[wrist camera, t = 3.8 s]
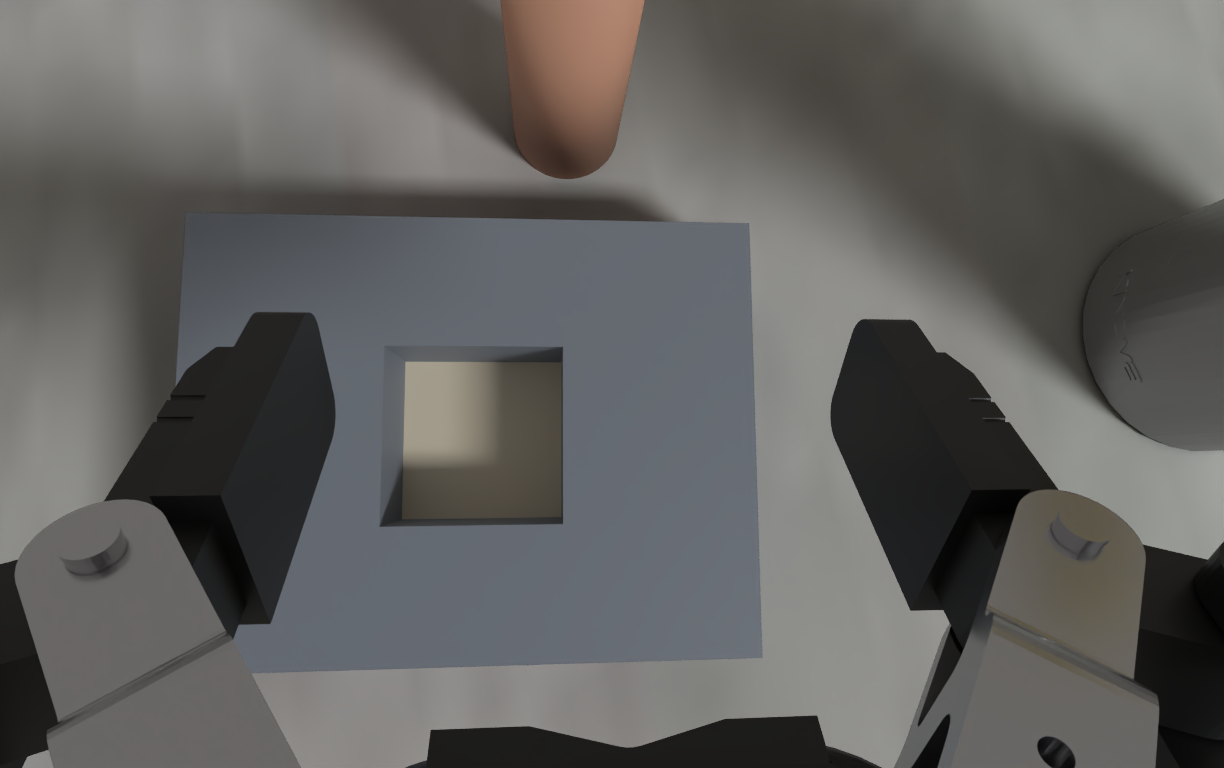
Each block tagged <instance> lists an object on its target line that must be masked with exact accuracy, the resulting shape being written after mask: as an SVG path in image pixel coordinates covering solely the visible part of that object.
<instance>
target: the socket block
mask: <svg viewBox="0 0 1224 768" xmlns="http://www.w3.org/2000/svg"><path fill="white" fill-rule="evenodd" d="M255 312H309V313H312V314H313V315H314V316H315V318H316V321H317V323H318V327H319V331H320V335H321V340H322V344H323V349H324V353H325V358H326V362H327V366H328V371H329V375H330V380H331V384H332V389H333V393H334V398H335V409H336V418H335V429H334V434H333V438H332V442H331V445H330V448H329V451H328V454H327V457H326V460H325V463H324V466H323V469H322V472H321V475H320V478H319V481H318V484H317V487H316V490H315V493H314V496H313V499H312V502H311V505H310V508H309V511H308V514H307V517H306V520H305V523H304V526H303V529H302V532H301V535H300V538H299V541H298V544H297V547H296V550H295V553H294V556H293V559H292V562H291V565H290V568H289V571H288V574H287V577H286V580H285V583H284V586H283V589H282V592H281V595H280V598H279V601H278V604H277V607H276V610H275V613H274V616H273V619H272V622H271V624H252V625H238V628H237V631H236V634H235V636H234V639H233V641H234V643H235V644H236V646H237V648H238V650H239V652H240V654H241V656H242V657H243V659H244V661H245V663H246V665H247V667H248V669H249V671H250V673H276V672H309V671H342V670H375V669H409V668H442V667H475V666H508V665H541V664H575V663H608V662H641V661H674V660H708V659H741V658H762V632H761V599H760V566H759V532H758V499H757V466H756V433H755V400H754V367H753V333H752V300H751V267H750V234H749V223H704V222H654V221H604V220H553V219H503V218H453V217H402V216H352V215H302V214H252V213H201V212H186V214H185V231H184V248H183V265H182V282H181V299H180V316H179V333H178V350H177V367H176V384H175V387H176V385H177V384H178V382H179V381H180V379H181V377H182V376H183V374H184V373H185V371H186V369H187V368H189V367H190V366H191V365H193V364H194V363H195V362H197V361H198V360H199V359H201V358H202V357H203V356H205V355H206V354H207V353H209V352H210V351H211V350H213V349H214V348H215V347H234V345H235V343H236V342H237V340H238V338H239V336H240V335H241V333H242V331H243V329H244V328H245V326H246V324H247V322H248V321H249V319H250V317H251V316H252V315H253V314H254V313H255Z"/></svg>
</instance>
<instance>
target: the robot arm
mask: <svg viewBox="0 0 1224 768" xmlns="http://www.w3.org/2000/svg"><path fill="white" fill-rule="evenodd" d="M1083 339H1084V344H1085V350H1086V355H1087V360H1088V363H1089V365H1090V368H1091V370H1092V373H1093V375H1094V378H1095V380H1096V383H1097V384H1098V386H1099V388H1100V389H1101V391H1102V392H1103V394H1104V395H1105V397H1106V399H1107V400H1108V402H1109V403H1110V405H1111V406H1112V407H1113V408H1114V409H1115V410H1116V411H1117V412H1118V413H1119V414H1120V415H1121V416H1122V417H1123V418H1124V419H1125V420H1126V422H1128V423H1129V424H1130V425H1132V426H1133V427H1135V428H1136V429H1137V430H1139V431H1140V432H1142V433H1143V434H1144V435H1146V436H1147V437H1150V438H1152V439H1154V440H1156V441H1159V442H1161V443H1163V444H1165V445H1168V446H1171V447H1176V448H1180V449H1185V450H1190V451H1215V450H1224V199H1223V200H1220V201H1218V202H1216V203H1213V204H1211V205H1208V206H1206V207H1203V208H1201V209H1198V210H1196V211H1193V212H1191V213H1188V214H1186V215H1183V216H1181V217H1178V218H1176V219H1173V220H1171V221H1169V222H1166V223H1164V224H1161V225H1159V226H1156V227H1154V228H1151V229H1149V230H1147V231H1144V232H1142V233H1140V234H1138V235H1135V236H1133V237H1131V238H1129V239H1128V240H1126V241H1125V242H1124V243H1123V244H1121V245H1120V246H1119V247H1117V248H1116V249H1115V250H1114V251H1112V252H1111V254H1110V255H1109V256H1108V257H1107V259H1106V260H1105V261H1104V262H1103V264H1102V265H1101V266H1100V267H1099V269H1098V271H1097V273H1096V275H1095V277H1094V279H1093V281H1092V283H1091V285H1090V287H1089V290H1088V294H1087V298H1086V302H1085V307H1084V311H1083ZM170 396H171V400H167V401H166V403H165V404H164V406H163V408H162V409H161V411H160V412H159V414H158V416H157V422H153V424H152V425H151V427H150V428H149V430H148V432H147V433H146V435H145V436H144V438H143V440H142V441H141V443H140V444H139V446H138V448H137V449H136V451H135V452H134V454H133V456H132V457H131V459H130V460H129V462H128V464H127V465H126V467H125V468H124V470H123V472H122V473H121V475H120V476H119V478H118V480H117V481H116V483H115V484H114V486H113V488H112V489H111V491H110V492H109V494H108V496H107V497H106V499H105V500H104V502H100V503H96V504H92V505H89V506H86V507H83V508H80V509H78V510H75V511H73V512H71V513H69V514H67V515H65V516H63V517H61V518H60V519H58V520H56V521H54V522H53V523H51V524H50V525H49V526H47V527H46V528H45V529H43V530H42V531H41V532H40V533H39V534H37V535H36V536H35V537H34V538H33V539H32V540H31V541H30V543H29V544H28V545H27V546H26V547H25V549H24V550H23V552H22V554H21V555H20V557H19V559H18V560H15V561H11V562H8V563H4V564H0V768H22V767H23V765H24V762H25V760H26V758H27V756H30V755H33V754H37V753H40V752H43V751H46V750H49V752H50V756H51V760H52V763H53V767H54V768H301V767H300V765H299V763H298V761H297V759H296V757H295V755H294V753H293V752H292V750H291V748H290V746H289V744H288V742H287V740H286V738H285V737H284V735H283V733H282V731H281V729H280V727H279V725H278V723H277V721H276V720H275V718H274V716H273V714H272V712H271V710H270V708H269V706H268V705H267V703H266V701H265V699H264V697H263V695H262V693H261V691H260V689H259V688H258V686H257V684H256V682H255V680H254V678H253V676H252V674H251V673H250V671H249V669H248V667H247V665H246V663H245V661H244V659H243V657H242V656H241V654H240V652H239V650H238V648H237V646H236V644H235V643H234V641H233V639H234V636H235V634H236V631H237V628H238V625H252V624H271V622H272V619H273V616H274V613H275V610H276V607H277V604H278V601H279V598H280V595H281V592H282V589H283V586H284V583H285V580H286V577H287V574H288V571H289V568H290V565H291V562H292V559H293V556H294V553H295V550H296V547H297V544H298V541H299V538H300V535H301V532H302V529H303V526H304V523H305V520H306V517H307V514H308V511H309V508H310V505H311V502H312V499H313V496H314V493H315V490H316V487H317V484H318V481H319V478H320V475H321V472H322V469H323V466H324V463H325V460H326V457H327V454H328V451H329V448H330V445H331V442H332V438H333V434H334V429H335V418H336V409H335V398H334V393H333V389H332V384H331V380H330V375H329V371H328V366H327V362H326V358H325V353H324V349H323V344H322V340H321V335H320V331H319V327H318V323H317V321H316V318H315V316H314V315H313V314H312V313H309V312H255V313H254V314H253V315H252V316H251V317H250V319H249V321H248V322H247V324H246V326H245V328H244V329H243V331H242V333H241V335H240V336H239V338H238V340H237V342H236V343H235V345H234V347H215V348H214V349H213V350H211V351H210V352H209V353H207V354H206V355H205V356H203V357H202V358H201V359H199V360H198V361H197V362H195V363H194V364H193V365H191V366H190V367H189V368H187V369H186V371H185V373H184V374H183V376H182V377H181V379H180V381H179V382H178V384H177V385H176V387H175V389H174V390H173V392H172V393H171V395H170ZM831 427H832V432H833V435H834V438H835V441H836V443H837V445H838V447H839V450H840V452H841V454H842V456H843V459H844V461H845V463H846V465H847V468H848V470H849V472H850V474H851V477H852V479H853V481H854V484H855V486H856V488H857V490H858V493H859V495H860V497H861V499H862V502H863V504H864V506H865V508H866V511H867V513H868V515H869V517H870V520H871V522H872V524H873V527H874V529H875V531H876V533H877V536H878V538H879V540H880V542H881V545H882V547H883V549H884V551H885V554H886V556H887V558H888V561H889V563H890V565H891V567H892V570H893V572H894V574H895V576H896V579H897V581H898V583H899V585H900V588H901V590H902V592H903V594H904V597H905V599H906V601H907V604H908V606H909V608H910V610H911V611H914V610H944V612H945V614H946V616H947V618H948V620H949V622H950V624H949V626H948V627H947V629H946V631H945V633H944V635H943V637H942V639H941V642H940V645H939V647H938V650H937V653H936V656H935V659H934V662H933V665H932V668H931V670H930V673H929V676H928V679H927V682H926V685H925V688H924V690H923V693H922V696H921V699H920V702H919V705H918V708H917V711H916V713H915V716H914V719H913V722H912V725H911V728H910V731H909V733H908V736H907V739H906V742H905V744H904V747H903V749H902V751H901V754H900V756H899V758H898V760H897V762H896V764H895V766H894V768H1224V542H1223V543H1222V544H1221V545H1220V546H1219V548H1218V549H1217V550H1216V551H1215V552H1214V553H1213V555H1212V556H1211V557H1210V558H1209V559H1208V560H1206V559H1202V558H1198V557H1193V556H1189V555H1185V554H1181V553H1176V552H1172V551H1168V550H1163V549H1159V548H1155V547H1151V546H1146V545H1143V544H1142V542H1141V541H1140V539H1139V537H1138V536H1137V534H1136V533H1135V532H1134V530H1133V529H1132V528H1131V527H1130V526H1129V525H1128V524H1127V523H1126V522H1125V521H1124V520H1123V519H1122V518H1120V517H1119V516H1118V515H1117V514H1115V513H1114V512H1112V511H1111V510H1109V509H1108V508H1106V507H1105V506H1103V505H1101V504H1099V503H1098V502H1095V501H1093V500H1091V499H1089V498H1087V497H1084V496H1081V495H1078V494H1075V493H1071V492H1067V491H1061V490H1058V489H1057V487H1056V486H1055V484H1054V483H1053V482H1052V480H1051V479H1050V478H1049V476H1048V475H1047V473H1046V472H1045V471H1044V469H1043V468H1042V467H1041V465H1040V464H1039V462H1038V461H1037V460H1036V458H1035V457H1034V456H1033V454H1032V453H1031V452H1030V450H1029V449H1028V447H1027V446H1026V445H1025V443H1024V442H1023V441H1022V439H1021V438H1020V436H1019V435H1018V434H1017V432H1016V431H1015V430H1014V428H1013V427H1012V425H1011V424H1010V423H1009V422H1005V416H1004V414H1003V413H1002V412H1001V410H1000V409H999V408H998V406H997V405H996V404H995V402H991V397H990V395H989V394H988V393H987V391H986V390H985V388H984V387H983V386H982V384H981V383H980V382H979V380H978V379H977V377H976V376H975V375H974V373H972V372H971V371H970V370H968V369H967V368H965V367H964V366H963V365H961V364H960V363H959V362H957V361H956V360H955V359H953V358H952V357H951V356H949V355H948V354H947V353H937V352H936V351H935V349H934V348H933V346H932V345H931V344H930V342H929V341H928V339H927V338H926V336H925V335H924V333H923V332H922V330H921V329H920V328H919V326H918V325H917V324H916V323H915V322H914V321H912V320H879V319H863V320H861V321H859V322H858V323H857V325H856V326H855V328H854V330H853V333H852V336H851V339H850V342H849V346H848V349H847V352H846V355H845V359H844V362H843V365H842V368H841V372H840V375H839V378H838V381H837V385H836V388H835V391H834V394H833V398H832V403H831ZM406 768H881V767H879V766H877V765H875V764H873V763H871V762H869V761H867V760H865V759H863V758H860V757H858V756H855V755H852V754H850V753H847V752H844V751H841V750H838V749H836V748H832V747H828V746H826V745H825V741H824V738H823V735H822V731H821V728H820V724H819V721H818V717H817V716H794V717H767V718H740V719H724V720H721V721H718V722H715V723H711V724H708V725H705V726H702V727H699V728H696V729H693V730H689V731H686V732H683V733H680V734H677V735H674V736H671V737H667V738H664V739H661V740H658V741H655V742H652V743H649V744H645V745H642V746H638V747H633V748H625V747H618V746H614V745H610V744H605V743H601V742H596V741H592V740H587V739H583V738H578V737H574V736H569V735H565V734H561V733H556V732H552V731H547V730H543V729H538V728H534V727H529V726H526V727H500V728H473V729H446V730H431V733H430V741H429V749H428V757H427V760H426V761H423V762H420V763H417V764H414V765H411V766H408V767H406Z"/></svg>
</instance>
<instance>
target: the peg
mask: <svg viewBox="0 0 1224 768" xmlns="http://www.w3.org/2000/svg"><path fill="white" fill-rule="evenodd" d="M644 2H645V0H501V8H502V18H503V28H504V37H505V47H506V57H507V66H508V76H509V86H510V95H511V105H512V115H513V124H514V134H515V139H516V143H517V145H518V148H519V150H520V152H521V154H522V155H523V156H524V158H525V159H526V160H527V161H528V163H529V164H531V165H532V166H533V167H534V168H535V169H537V170H538V171H540V172H542V173H544V174H546V175H549V176H552V177H555V178H561V179H574V178H580V177H583V176H586V175H589V174H591V173H593V172H594V171H596V170H598V169H599V168H600V167H601V166H602V165H603V164H604V163H605V162H606V161H607V160H608V159H609V157H610V156H611V154H612V152H613V150H614V147H615V145H616V140H617V135H618V130H619V125H620V121H621V116H622V111H623V106H624V101H625V96H626V91H627V86H628V81H629V76H630V71H631V66H632V61H633V56H634V51H635V46H636V41H637V37H638V32H639V27H640V22H641V17H642V12H643V7H644Z"/></svg>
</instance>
